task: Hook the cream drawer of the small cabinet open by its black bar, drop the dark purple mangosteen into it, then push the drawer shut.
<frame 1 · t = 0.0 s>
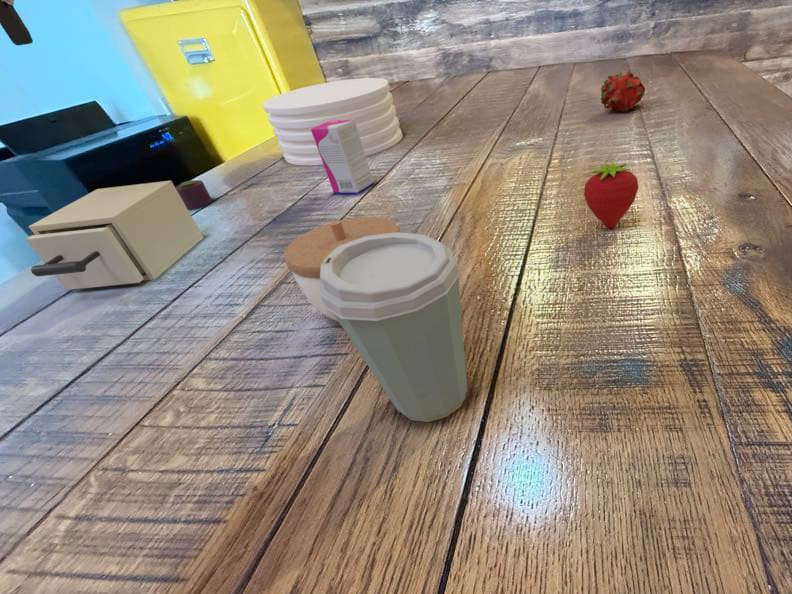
cabinet: (144, 262, 82), on the table
disposable coffee cup: (433, 404, 48), on the table
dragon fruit: (623, 111, 120), on the table
supplement box: (355, 191, 97), on the table
lidded bowl: (369, 312, 62), on the table
drawer: (104, 247, 75), point 5 cm above the table, slide at 1.0 cm
strawberry: (611, 229, 72), on the table
plate stack: (345, 147, 123), on the table
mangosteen: (199, 205, 101), on the table
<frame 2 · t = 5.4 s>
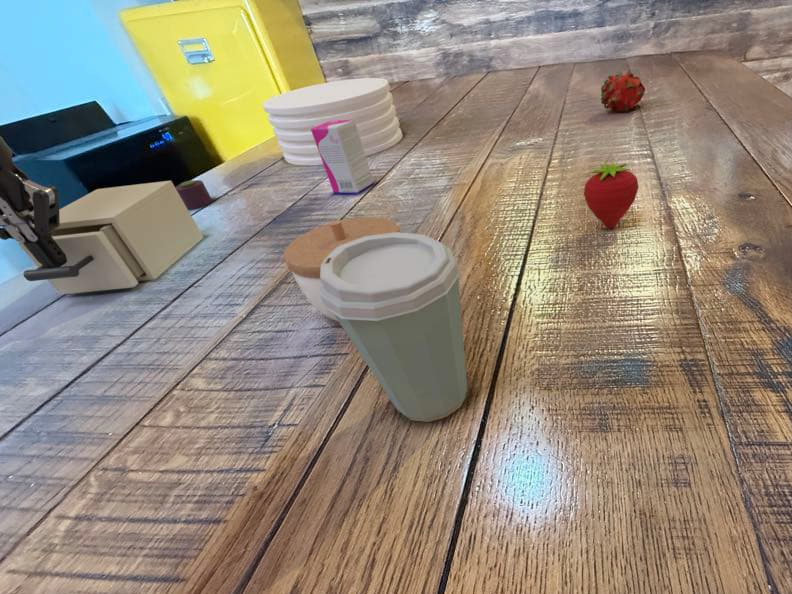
hand: (57, 265, 68), 6 cm above the table, tool pointing down, fingers closed
drawer: (98, 251, 74), point 5 cm above the table, slide at 2.3 cm, touching gripper
everything else where it was.
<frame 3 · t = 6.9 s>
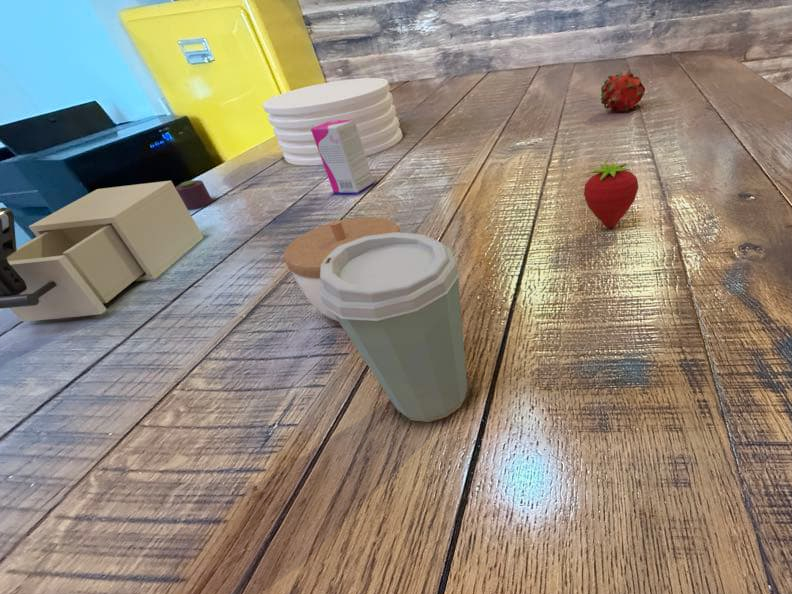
hand: (16, 292, 62), 6 cm above the table, tool pointing down, fingers closed
drawer: (63, 275, 68), point 5 cm above the table, slide at 9.5 cm, touching gripper
everything else where it was.
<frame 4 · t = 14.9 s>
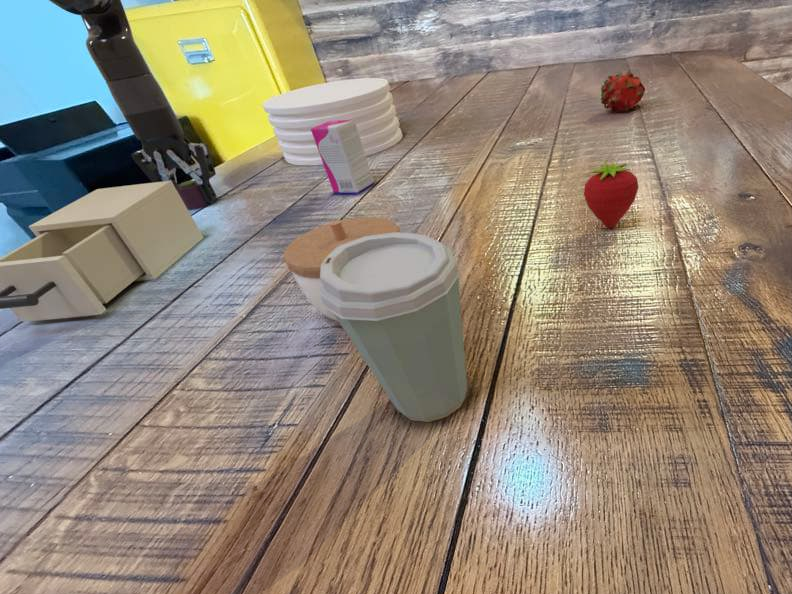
hand: (198, 203, 100), 0 cm above the table, tool pointing down, fingers closed on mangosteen, 5 cm apart
drawer: (63, 275, 68), point 5 cm above the table, slide at 9.5 cm
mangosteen: (199, 205, 101), on the table, touching gripper
everything else where it was.
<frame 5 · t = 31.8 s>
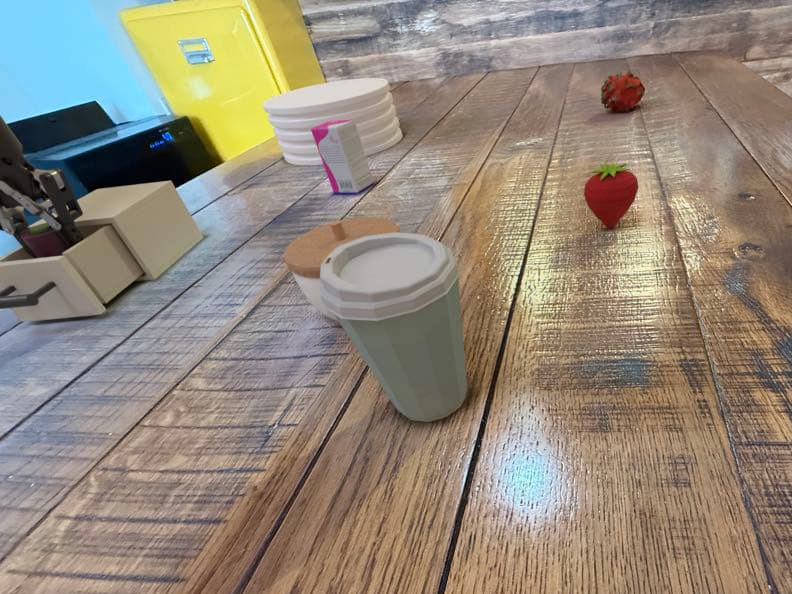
hand: (63, 255, 69), 7 cm above the table, tool pointing down, fingers closed on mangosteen, 5 cm apart
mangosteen: (65, 258, 69), point 6 cm above the table, touching gripper
everything else where it was.
when the fingers open (10 cm above the table, at t = 43.4 s): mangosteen drops 8 cm, resting on drawer.
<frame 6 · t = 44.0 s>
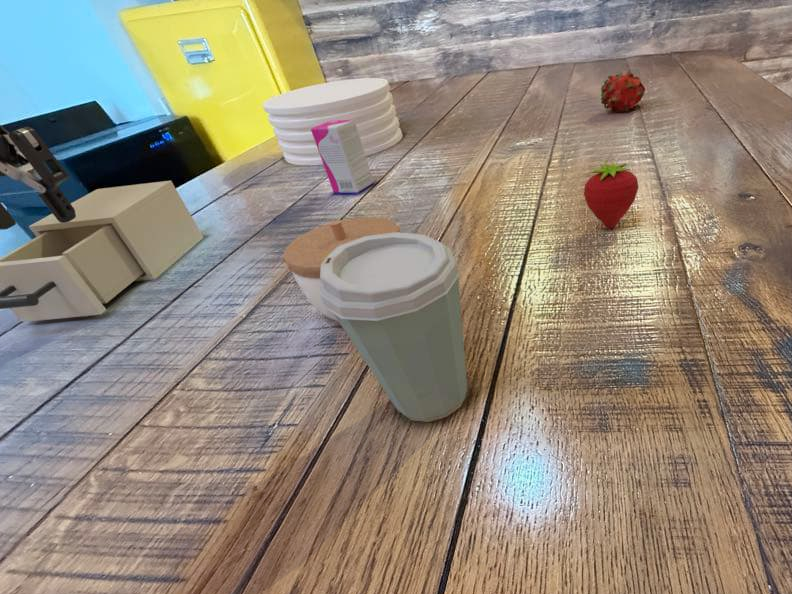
hand: (38, 223, 66), 11 cm above the table, tool pointing down, fingers open, 8 cm apart
drawer: (63, 275, 68), point 5 cm above the table, slide at 9.6 cm, touching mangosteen
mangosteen: (80, 287, 72), point 2 cm above the table, touching drawer
everything else where it was.
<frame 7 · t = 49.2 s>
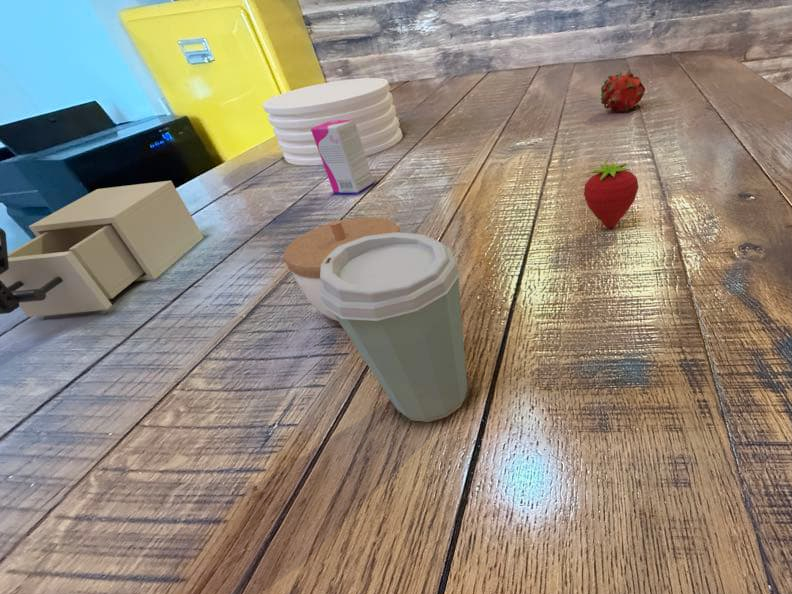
hand: (8, 310, 62), 5 cm above the table, tool pointing down, fingers closed
drawer: (69, 271, 69), point 5 cm above the table, slide at 8.3 cm, touching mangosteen
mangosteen: (86, 283, 73), point 2 cm above the table, touching drawer
everything else where it was.
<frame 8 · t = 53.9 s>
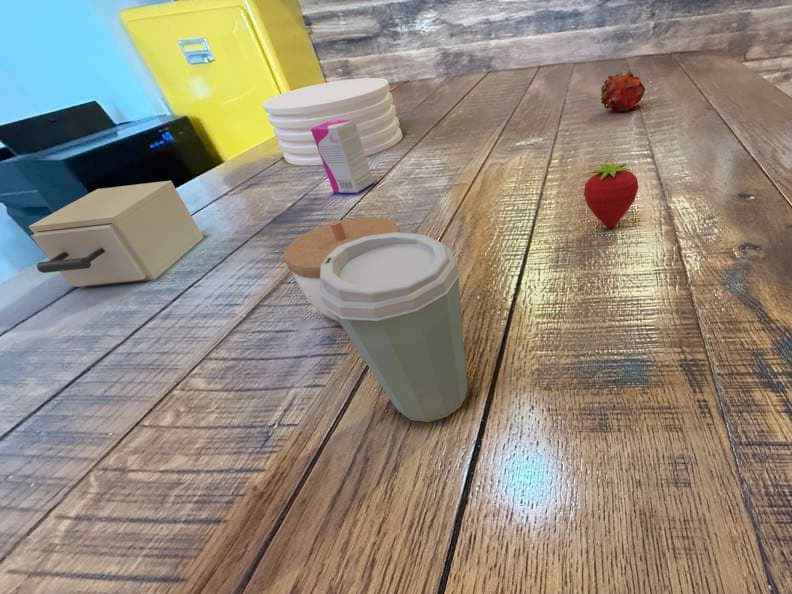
drawer: (108, 244, 75), point 5 cm above the table, slide at 0.0 cm, touching cabinet, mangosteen
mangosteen: (122, 256, 79), point 2 cm above the table, touching drawer
everything else where it was.
at the end: drawer pulled out 9.6 cm at the most during the clip, back to where it started at the end; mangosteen inside the target area in the cabinet (1.5 cm from its centre), point 2.0 cm above the cabinet's base; drawer slide at 0.0 cm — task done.
